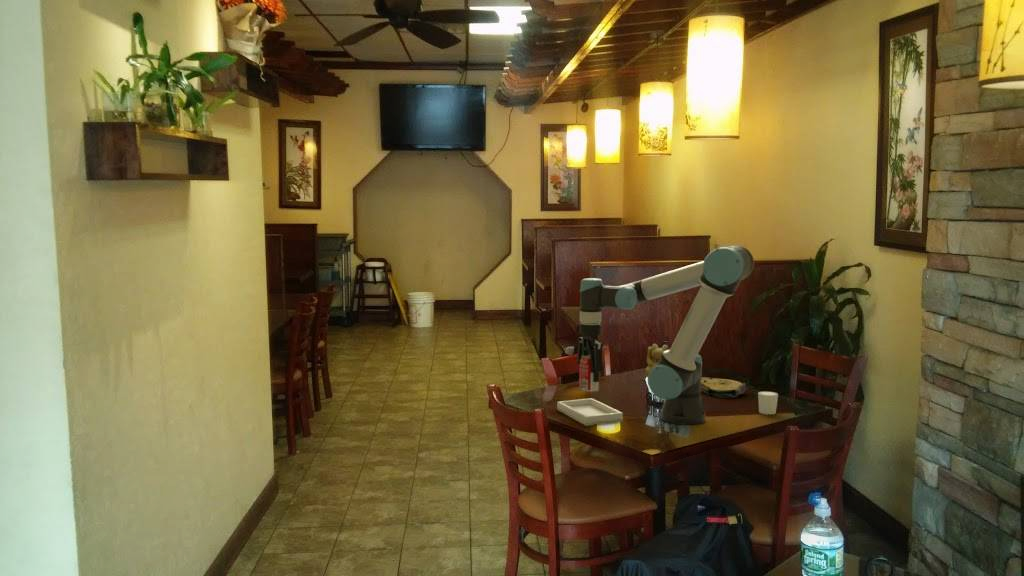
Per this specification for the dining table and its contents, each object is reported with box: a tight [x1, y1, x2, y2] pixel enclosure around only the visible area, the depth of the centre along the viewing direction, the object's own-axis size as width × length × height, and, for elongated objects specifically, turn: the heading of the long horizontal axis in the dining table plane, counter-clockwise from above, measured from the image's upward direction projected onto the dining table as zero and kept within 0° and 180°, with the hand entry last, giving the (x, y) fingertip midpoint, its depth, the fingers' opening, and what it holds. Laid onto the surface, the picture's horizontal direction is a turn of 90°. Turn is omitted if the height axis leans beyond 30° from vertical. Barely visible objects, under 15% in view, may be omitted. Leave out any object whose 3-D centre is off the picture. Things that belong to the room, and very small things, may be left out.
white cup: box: [757, 390, 779, 416], centre depth 295 cm, size 7×7×7 cm
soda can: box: [578, 354, 601, 393], centre depth 289 cm, size 7×7×12 cm
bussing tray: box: [556, 397, 624, 427], centre depth 290 cm, size 22×14×3 cm, turn 23°
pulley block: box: [701, 377, 754, 398], centre depth 328 cm, size 14×6×30 cm
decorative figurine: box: [645, 343, 669, 377], centre depth 346 cm, size 10×8×15 cm
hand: (589, 388), depth 289 cm, fingers closed on soda can, 7 cm apart
